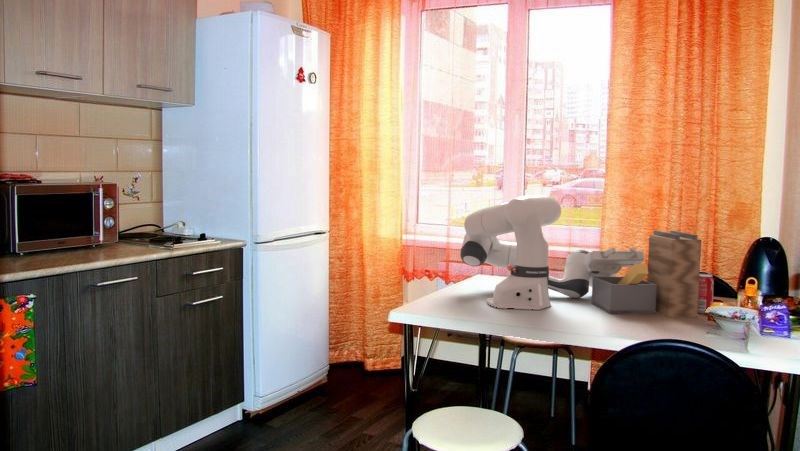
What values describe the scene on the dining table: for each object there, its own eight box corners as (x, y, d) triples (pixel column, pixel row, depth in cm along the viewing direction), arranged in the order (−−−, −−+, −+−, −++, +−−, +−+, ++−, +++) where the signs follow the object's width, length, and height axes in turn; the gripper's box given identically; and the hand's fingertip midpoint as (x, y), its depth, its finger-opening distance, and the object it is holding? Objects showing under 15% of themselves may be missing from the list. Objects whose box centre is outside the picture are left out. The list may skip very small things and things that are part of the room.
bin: (609, 313, 215) (611, 284, 215) (591, 303, 231) (592, 276, 230) (655, 313, 217) (656, 284, 216) (634, 303, 233) (635, 276, 232)
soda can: (714, 314, 217) (717, 277, 216) (692, 313, 219) (694, 275, 218) (709, 310, 224) (711, 273, 223) (687, 309, 226) (689, 272, 224)
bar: (638, 273, 209) (636, 263, 210) (615, 297, 226) (613, 288, 228) (648, 273, 209) (646, 263, 211) (625, 297, 226) (623, 288, 228)
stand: (668, 317, 212) (672, 235, 210) (645, 306, 228) (649, 230, 226) (696, 317, 213) (701, 235, 211) (672, 306, 229) (676, 230, 226)
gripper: (637, 272, 236) (653, 258, 223) (583, 272, 234) (597, 258, 221) (634, 256, 238) (650, 241, 226) (581, 256, 237) (594, 241, 224)
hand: (623, 249), depth 224 cm, fingers open, 6 cm apart
